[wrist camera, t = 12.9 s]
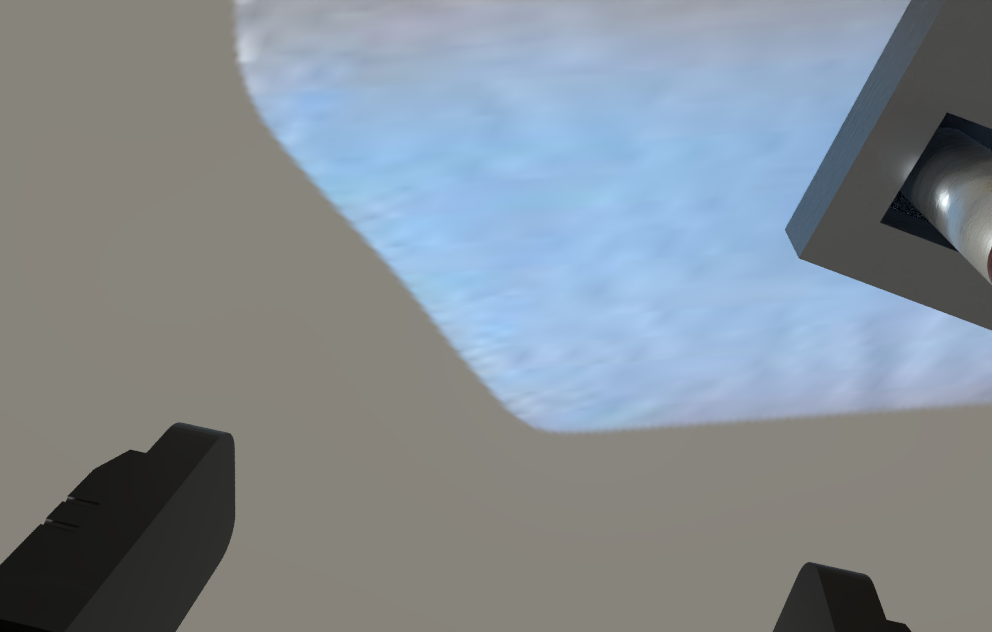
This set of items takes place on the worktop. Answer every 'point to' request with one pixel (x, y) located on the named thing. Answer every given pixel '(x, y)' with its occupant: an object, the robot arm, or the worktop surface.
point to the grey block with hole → (903, 162)
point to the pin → (956, 193)
